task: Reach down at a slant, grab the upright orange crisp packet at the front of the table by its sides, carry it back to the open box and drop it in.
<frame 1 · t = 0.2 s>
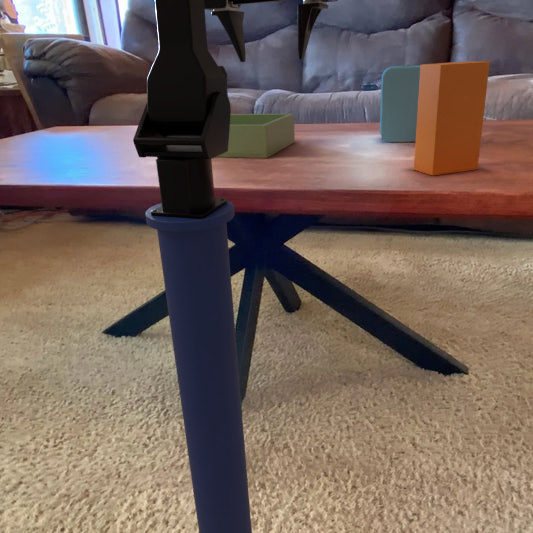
hand: (271, 60, 75), 14 cm above the table, tool pointing down, fingers open, 9 cm apart
packet: (445, 169, 67), on the table
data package: (414, 141, 89), on the table
open box: (242, 148, 89), on the table
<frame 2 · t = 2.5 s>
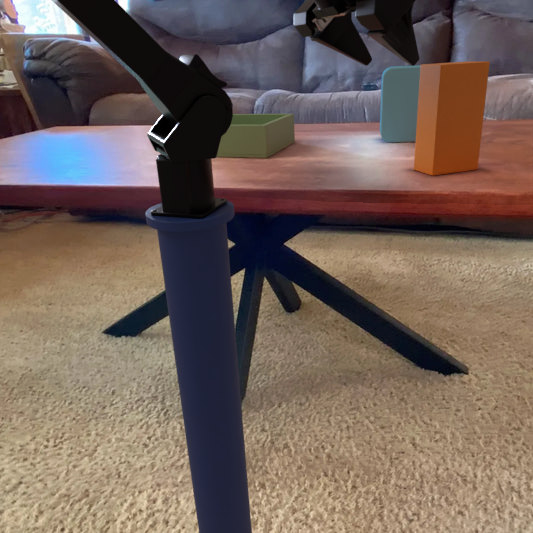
hand: (391, 62, 60), 13 cm above the table, tool tilted 40°, fingers open, 9 cm apart
nothing on the table moved.
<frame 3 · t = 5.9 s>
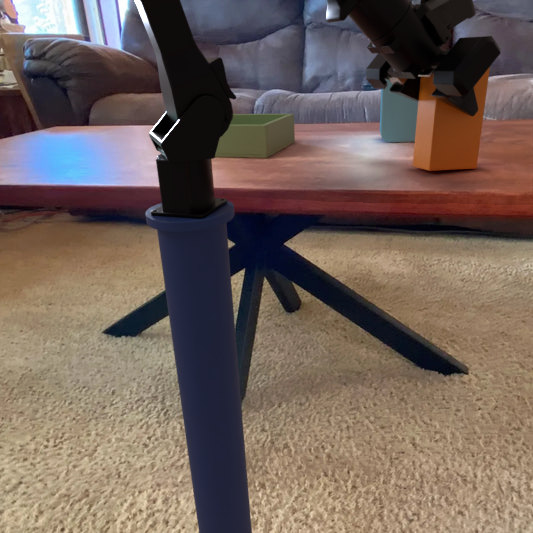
hand: (461, 111, 65), 7 cm above the table, tool tilted 45°, fingers closed on packet, 5 cm apart
packet: (444, 167, 67), on the table, touching gripper
everything else where it was.
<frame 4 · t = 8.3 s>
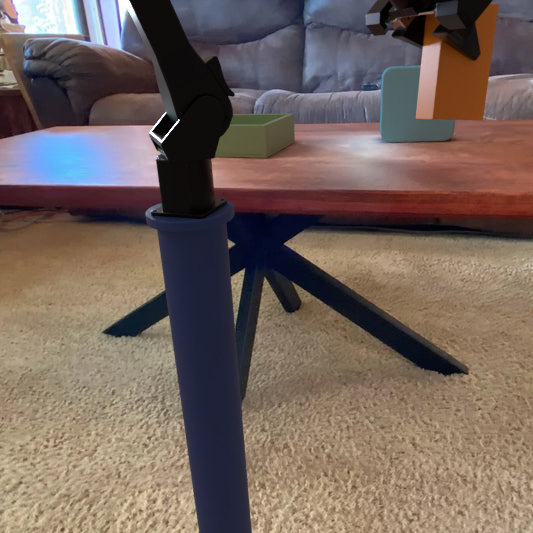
hand: (464, 57, 62), 14 cm above the table, tool tilted 45°, fingers closed on packet, 4 cm apart
packet: (448, 119, 64), point 6 cm above the table, tilted 8°, touching gripper
everything else where it was.
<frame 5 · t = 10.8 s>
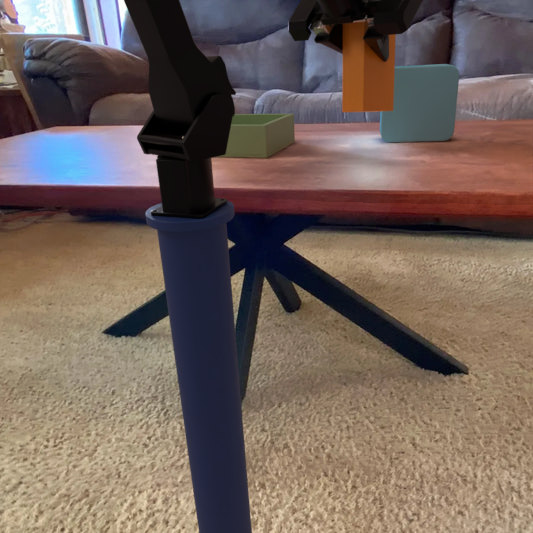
hand: (373, 59, 75), 14 cm above the table, tool tilted 45°, fingers closed on packet, 4 cm apart
packet: (367, 111, 76), point 6 cm above the table, tilted 8°, touching gripper
everything else where it was.
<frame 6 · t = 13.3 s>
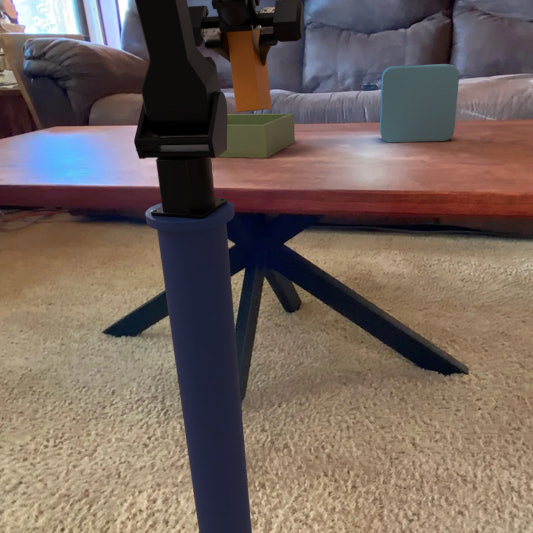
hand: (251, 64, 84), 14 cm above the table, tool tilted 45°, fingers closed on packet, 4 cm apart
packet: (254, 110, 85), point 6 cm above the table, tilted 8°, touching gripper
everything else where it was.
when the fingers open (10 cm above the table, at t = 15.7 s): packet drops 2 cm, resting on open box.
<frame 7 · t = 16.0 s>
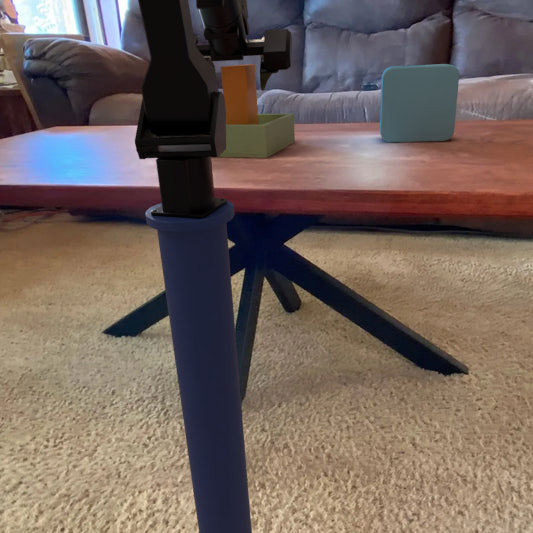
hand: (239, 89, 86), 10 cm above the table, tool tilted 45°, fingers open, 8 cm apart
packet: (244, 146, 88), point 1 cm above the table, touching open box
everything else where it was.
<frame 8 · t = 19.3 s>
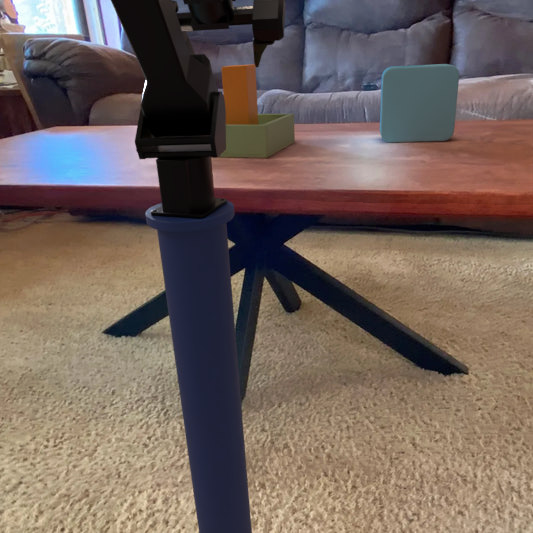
hand: (227, 66, 76), 14 cm above the table, tool tilted 45°, fingers open, 9 cm apart
nothing on the table moved.
at the end: packet inside the target area in the open box (0.8 cm from its centre), point 0.5 cm above the open box's base; the gripper is holding nothing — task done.
